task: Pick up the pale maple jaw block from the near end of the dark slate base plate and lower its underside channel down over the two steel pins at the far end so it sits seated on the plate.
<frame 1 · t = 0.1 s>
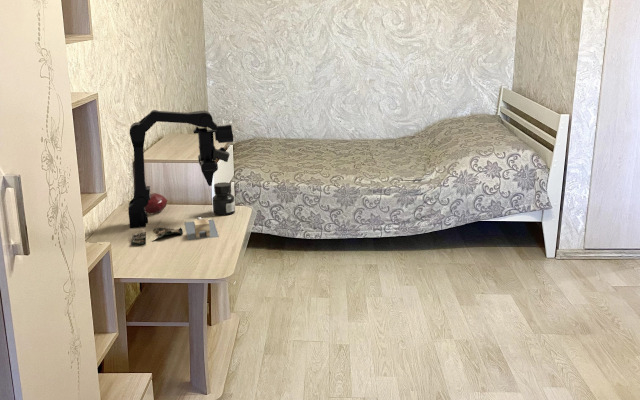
hand: (209, 182, 258), 15 cm above the table, fingers open, 9 cm apart
decorative rock: (156, 240, 240), on the table
ink bottle: (224, 213, 269), on the table
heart: (156, 212, 272), on the table
pin plate: (201, 233, 245), on the table
jaw block: (202, 234, 239), point 1 cm above the table, touching pin plate
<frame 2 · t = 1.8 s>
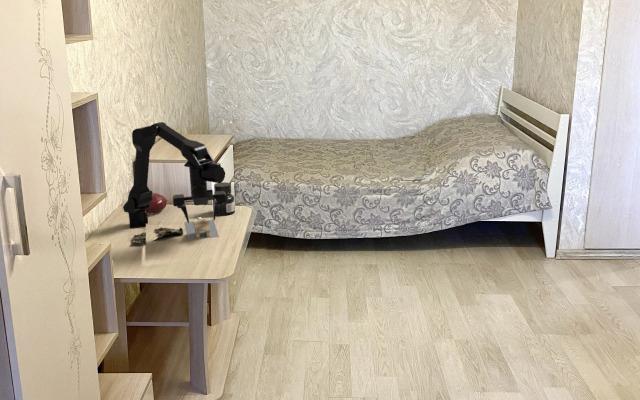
hand: (201, 221, 237), 7 cm above the table, fingers open, 9 cm apart
nothing on the table moved.
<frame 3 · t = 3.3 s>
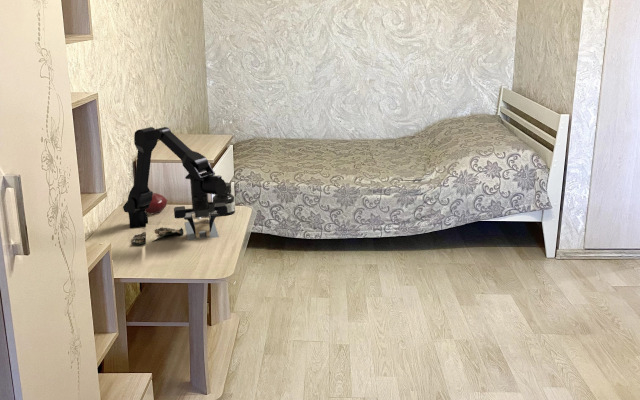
hand: (202, 233, 238), 2 cm above the table, fingers closed on jaw block, 5 cm apart
jaw block: (202, 234, 239), point 1 cm above the table, touching gripper, pin plate
everything else where it was.
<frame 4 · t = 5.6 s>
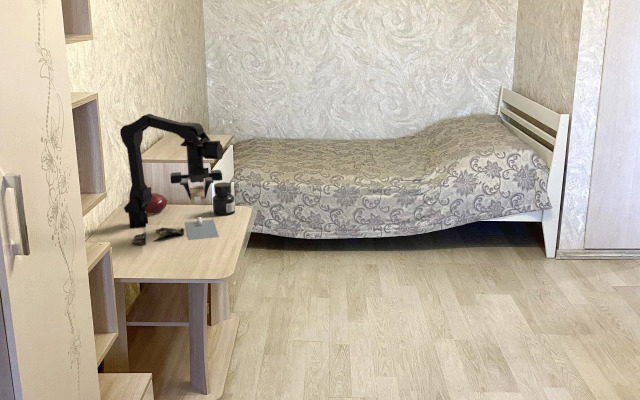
hand: (197, 198, 245), 12 cm above the table, fingers closed on jaw block, 5 cm apart
jaw block: (197, 200, 246), point 11 cm above the table, touching gripper
everything else where it was.
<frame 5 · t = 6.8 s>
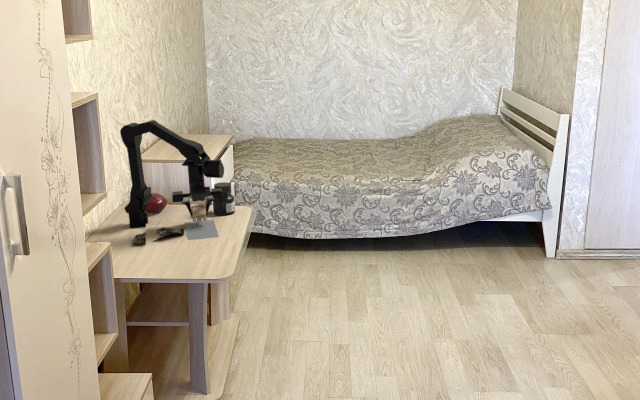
hand: (199, 216, 250), 4 cm above the table, fingers closed on jaw block, 5 cm apart
jaw block: (199, 218, 250), point 4 cm above the table, touching gripper
everything else where it was.
when the fingers open (3 cm above the table, at t = 7.9 s): jaw block stays where it is, resting on pin plate.
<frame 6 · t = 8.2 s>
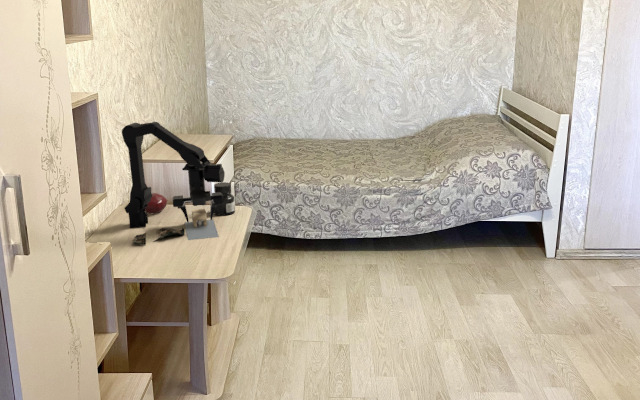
hand: (199, 221, 250), 3 cm above the table, fingers open, 8 cm apart
jaw block: (199, 224, 251), point 1 cm above the table, touching pin plate
everything else where it was.
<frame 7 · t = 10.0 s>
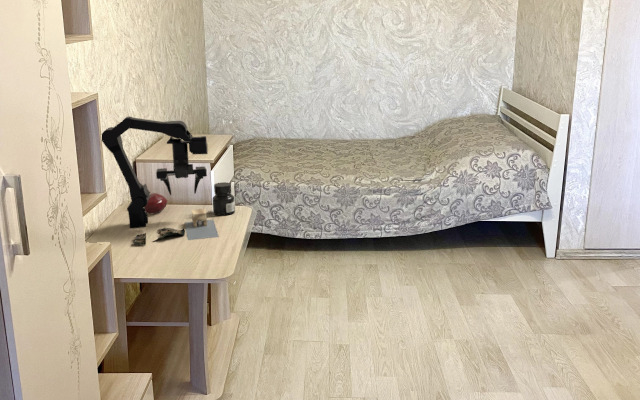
hand: (182, 194, 254), 12 cm above the table, fingers open, 9 cm apart
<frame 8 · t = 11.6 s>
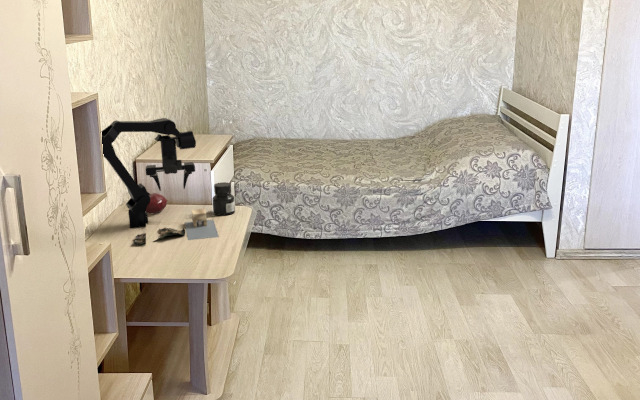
hand: (172, 189, 259), 12 cm above the table, fingers open, 9 cm apart
at the end: jaw block 0.0 cm from the target spot on the pin plate, point 1.5 cm above the pin plate's base; jaw block tilted 0°; the gripper is holding nothing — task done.
